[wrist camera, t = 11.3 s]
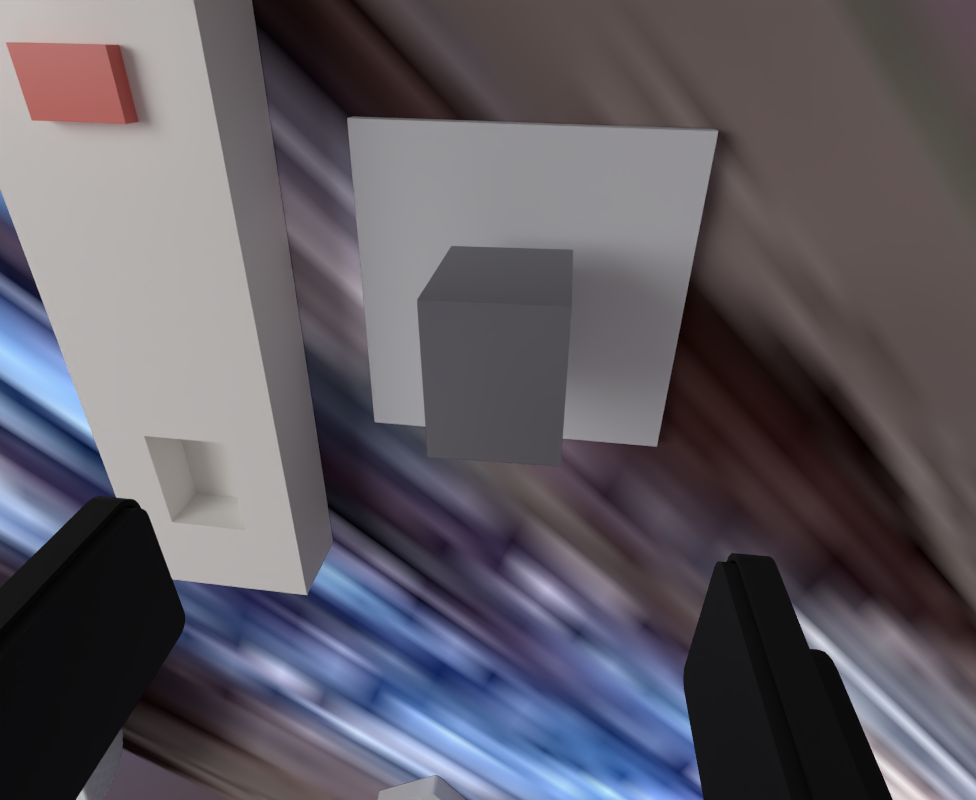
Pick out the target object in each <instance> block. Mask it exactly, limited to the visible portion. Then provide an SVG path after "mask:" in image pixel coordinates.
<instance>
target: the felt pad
mask: <svg viewBox="0 0 976 800" xmlns="http://www.w3.org/2000/svg"><path fill="white" fill-rule="evenodd" d="M347 123H348V134H349V145H350V156H351V167H352V178H353V189H354V200H355V211H356V222H357V233H358V244H359V255H360V266H361V277H362V288H363V299H364V310H365V322H366V333H367V344H368V355H369V366H370V377H371V388H372V399H373V410H374V421H375V422H379V423H390V424H402V425H413V426H425V413H424V398H423V383H422V369H421V354H420V339H419V325H418V310H417V299H418V298H419V296H420V294H421V293H422V291H423V290H424V288H425V287H426V285H427V283H428V282H429V280H430V279H431V277H432V276H433V274H434V272H435V271H436V269H437V268H438V266H439V264H440V263H441V261H442V260H443V258H444V257H445V255H446V253H447V252H448V250H449V249H450V247H451V246H471V247H503V248H534V249H566V250H573V276H572V311H571V325H570V340H569V354H568V369H567V383H566V398H565V412H564V427H563V439H575V440H586V441H598V442H609V443H621V444H632V445H644V446H655V447H657V443H658V438H659V433H660V428H661V423H662V417H663V412H664V407H665V402H666V397H667V392H668V387H669V382H670V376H671V371H672V366H673V361H674V356H675V351H676V346H677V341H678V336H679V330H680V325H681V320H682V315H683V310H684V305H685V300H686V295H687V289H688V284H689V279H690V274H691V269H692V264H693V259H694V254H695V248H696V243H697V238H698V233H699V228H700V223H701V218H702V213H703V208H704V202H705V197H706V192H707V187H708V182H709V177H710V172H711V167H712V161H713V156H714V151H715V146H716V141H717V136H718V131H717V130H716V129H701V128H672V127H643V126H614V125H586V124H557V123H528V122H499V121H470V120H442V119H413V118H384V117H355V116H353V117H349V118H347Z"/></svg>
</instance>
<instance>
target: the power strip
mask: <svg viewBox="0 0 976 800" xmlns="http://www.w3.org/2000/svg"><path fill="white" fill-rule="evenodd" d="M0 189H1V192H2V194H3V197H4V200H5V202H6V205H7V208H8V210H9V213H10V216H11V218H12V221H13V224H14V226H15V229H16V232H17V234H18V237H19V240H20V242H21V245H22V248H23V250H24V253H25V256H26V258H27V261H28V264H29V266H30V269H31V272H32V274H33V277H34V280H35V282H36V285H37V288H38V290H39V293H40V296H41V298H42V301H43V304H44V306H45V309H46V311H47V314H48V317H49V319H50V322H51V325H52V327H53V330H54V333H55V335H56V338H57V341H58V343H59V346H60V349H61V351H62V354H63V357H64V359H65V362H66V365H67V367H68V370H69V373H70V375H71V378H72V381H73V383H74V386H75V389H76V391H77V394H78V397H79V399H80V402H81V405H82V407H83V410H84V413H85V415H86V418H87V421H88V423H89V426H90V429H91V431H92V434H93V437H94V439H95V442H96V444H97V447H98V450H99V452H100V455H101V458H102V460H103V463H104V466H105V468H106V471H107V474H108V476H109V479H110V482H111V484H112V487H113V490H114V492H115V495H116V498H126V499H134V500H135V501H137V502H138V503H139V505H140V507H141V509H144V510H145V511H146V512H147V513H148V515H149V518H150V521H151V523H152V526H153V529H154V532H155V534H156V537H157V540H158V542H159V545H160V548H161V550H162V553H163V556H164V559H165V561H166V564H167V567H168V569H169V572H170V575H171V578H172V579H174V580H183V581H192V582H200V583H209V584H217V585H226V586H234V587H243V588H251V589H260V590H268V591H277V592H285V593H294V594H302V595H307V594H308V592H309V590H310V588H311V586H312V584H313V582H314V580H315V578H316V576H317V574H318V572H319V570H320V568H321V566H322V564H323V562H324V560H325V558H326V556H327V553H328V551H329V549H330V547H331V545H332V543H333V538H332V532H331V525H330V518H329V512H328V505H327V498H326V491H325V485H324V478H323V471H322V465H321V458H320V451H319V445H318V438H317V431H316V425H315V418H314V411H313V405H312V398H311V391H310V385H309V378H308V371H307V365H306V358H305V351H304V345H303V338H302V331H301V325H300V318H299V311H298V305H297V298H296V291H295V285H294V278H293V271H292V265H291V258H290V251H289V244H288V238H287V231H286V224H285V218H284V211H283V204H282V198H281V191H280V184H279V178H278V171H277V164H276V158H275V151H274V144H273V138H272V131H271V124H270V118H269V111H268V104H267V98H266V91H265V84H264V78H263V71H262V64H261V58H260V51H259V44H258V38H257V31H256V24H255V18H254V11H253V4H252V0H0Z"/></svg>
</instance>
